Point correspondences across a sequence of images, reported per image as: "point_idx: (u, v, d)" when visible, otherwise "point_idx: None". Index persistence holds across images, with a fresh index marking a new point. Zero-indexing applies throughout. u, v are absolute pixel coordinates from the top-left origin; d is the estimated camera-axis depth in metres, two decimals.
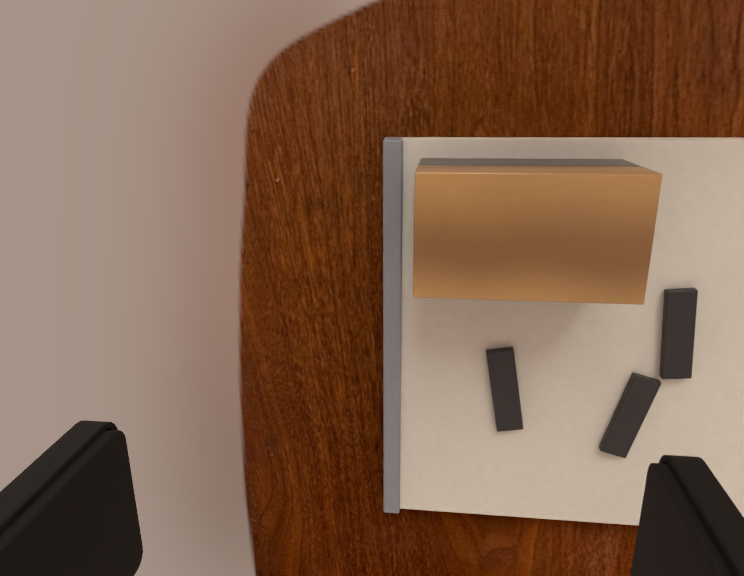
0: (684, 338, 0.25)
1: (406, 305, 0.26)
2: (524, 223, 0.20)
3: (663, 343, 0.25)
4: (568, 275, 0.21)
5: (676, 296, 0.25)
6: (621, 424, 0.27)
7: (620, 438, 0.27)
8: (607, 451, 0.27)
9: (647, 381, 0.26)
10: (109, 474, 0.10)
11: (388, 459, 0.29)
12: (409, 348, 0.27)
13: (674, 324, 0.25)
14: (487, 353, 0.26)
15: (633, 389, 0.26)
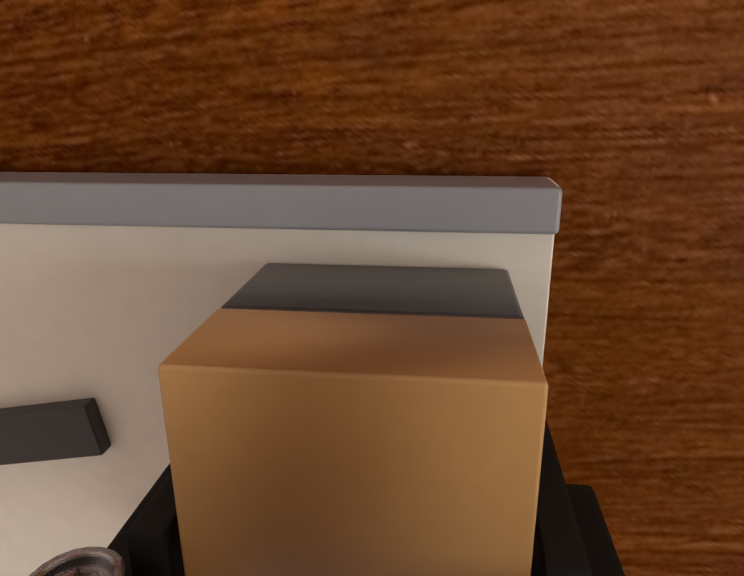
0: None
1: (164, 234, 0.11)
2: None
3: None
4: None
5: None
6: None
7: None
8: None
9: None
10: None
11: None
12: (63, 239, 0.12)
13: None
14: (84, 407, 0.12)
15: None
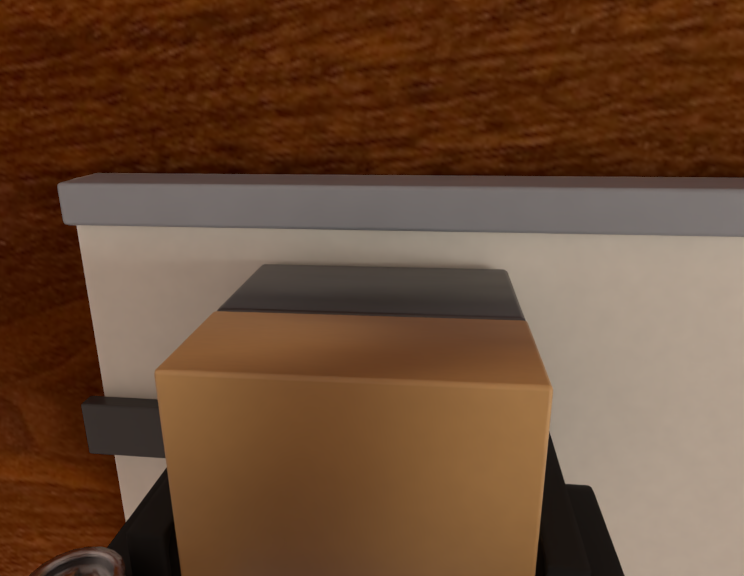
0: None
1: (663, 243, 0.10)
2: None
3: None
4: None
5: None
6: None
7: None
8: None
9: None
10: None
11: (220, 198, 0.11)
12: (539, 249, 0.11)
13: None
14: None
15: None
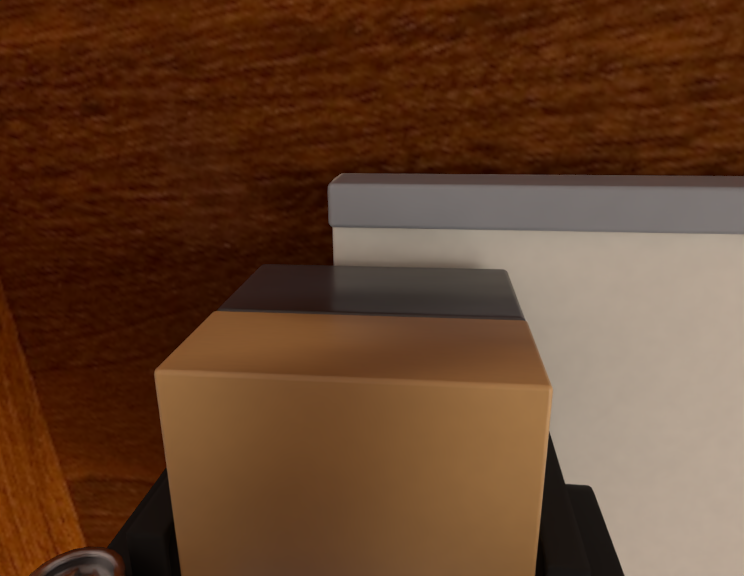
0: None
1: None
2: None
3: None
4: None
5: None
6: None
7: None
8: None
9: None
10: None
11: (506, 199, 0.10)
12: None
13: None
14: None
15: None
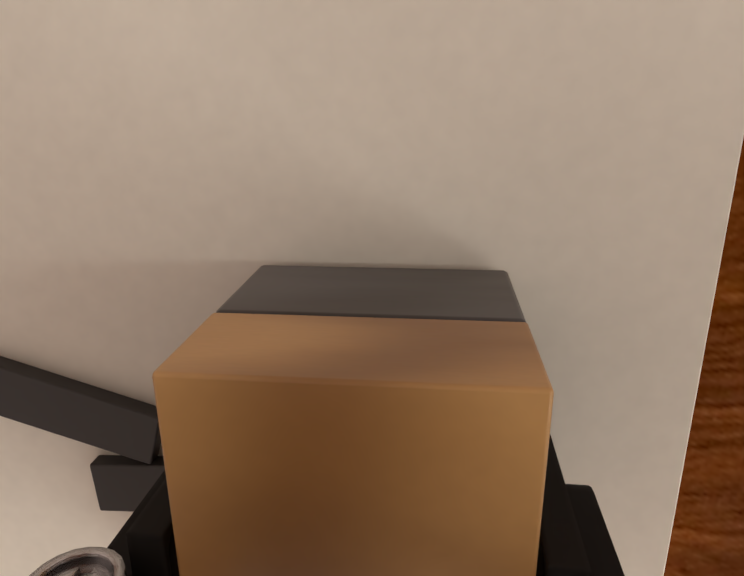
0: None
1: None
2: None
3: (163, 463, 0.13)
4: None
5: None
6: (47, 397, 0.12)
7: (16, 397, 0.12)
8: None
9: (151, 441, 0.12)
10: None
11: None
12: None
13: None
14: None
15: (129, 416, 0.12)
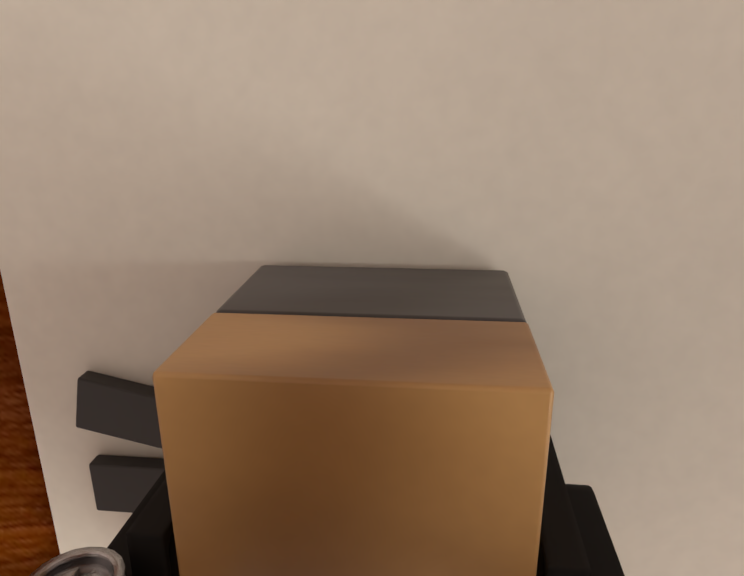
0: None
1: None
2: None
3: (164, 466, 0.13)
4: None
5: None
6: (150, 411, 0.12)
7: (119, 414, 0.12)
8: (81, 392, 0.12)
9: None
10: None
11: None
12: None
13: None
14: None
15: None
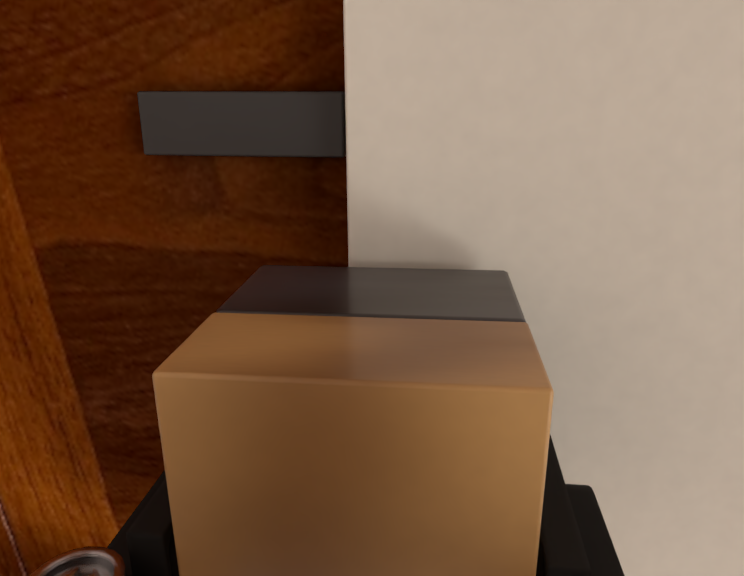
0: None
1: None
2: None
3: None
4: None
5: None
6: None
7: None
8: None
9: None
10: None
11: None
12: None
13: None
14: (341, 94, 0.11)
15: None
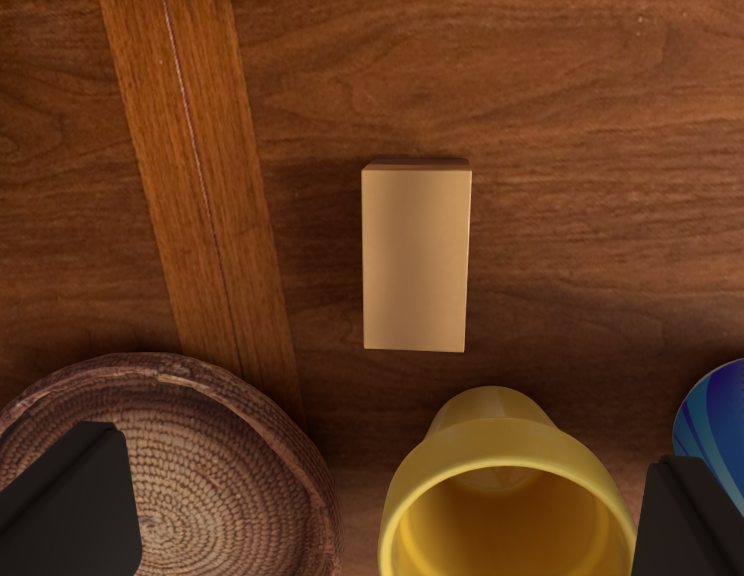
0: None
1: None
2: (427, 259, 0.25)
3: None
4: (385, 294, 0.26)
5: None
6: None
7: None
8: None
9: None
10: (109, 474, 0.10)
11: None
12: None
13: None
14: None
15: None
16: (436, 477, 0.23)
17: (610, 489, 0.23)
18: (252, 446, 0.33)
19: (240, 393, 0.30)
